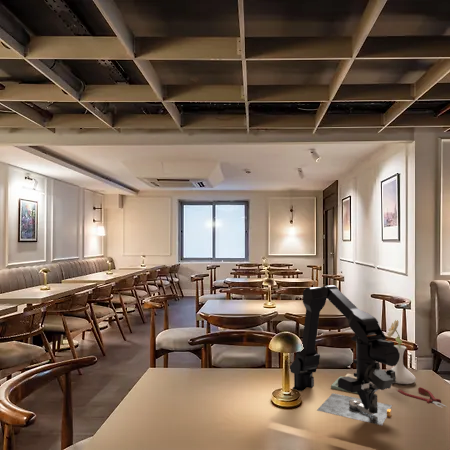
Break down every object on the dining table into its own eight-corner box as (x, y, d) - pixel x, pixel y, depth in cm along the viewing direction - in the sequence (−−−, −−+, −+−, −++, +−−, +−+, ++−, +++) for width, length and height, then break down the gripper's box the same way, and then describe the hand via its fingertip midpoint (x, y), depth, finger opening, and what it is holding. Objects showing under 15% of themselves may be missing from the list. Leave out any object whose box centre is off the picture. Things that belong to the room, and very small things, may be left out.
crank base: (316, 414, 128) (316, 405, 128) (332, 397, 142) (332, 388, 142) (385, 431, 117) (385, 420, 117) (395, 410, 131) (395, 401, 131)
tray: (331, 392, 147) (330, 385, 147) (340, 382, 157) (340, 376, 157) (364, 399, 141) (364, 391, 141) (371, 388, 151) (371, 381, 151)
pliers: (437, 419, 125) (437, 411, 126) (395, 395, 145) (395, 388, 145) (467, 415, 128) (466, 407, 128) (421, 393, 148) (421, 385, 148)
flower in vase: (388, 375, 166) (387, 314, 167) (418, 380, 160) (417, 317, 161) (380, 384, 156) (379, 319, 157) (412, 390, 149) (410, 323, 150)
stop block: (344, 390, 148) (344, 376, 149) (347, 386, 152) (347, 373, 152) (355, 392, 146) (355, 378, 146) (358, 388, 150) (358, 375, 150)
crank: (346, 406, 130) (346, 387, 131) (354, 403, 132) (353, 385, 133) (373, 417, 122) (372, 397, 122) (380, 414, 124) (380, 394, 124)
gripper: (364, 368, 112) (365, 425, 111) (408, 360, 120) (409, 413, 119) (336, 358, 121) (336, 411, 120) (378, 352, 130) (379, 400, 129)
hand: (366, 409), depth 122 cm, fingers closed
